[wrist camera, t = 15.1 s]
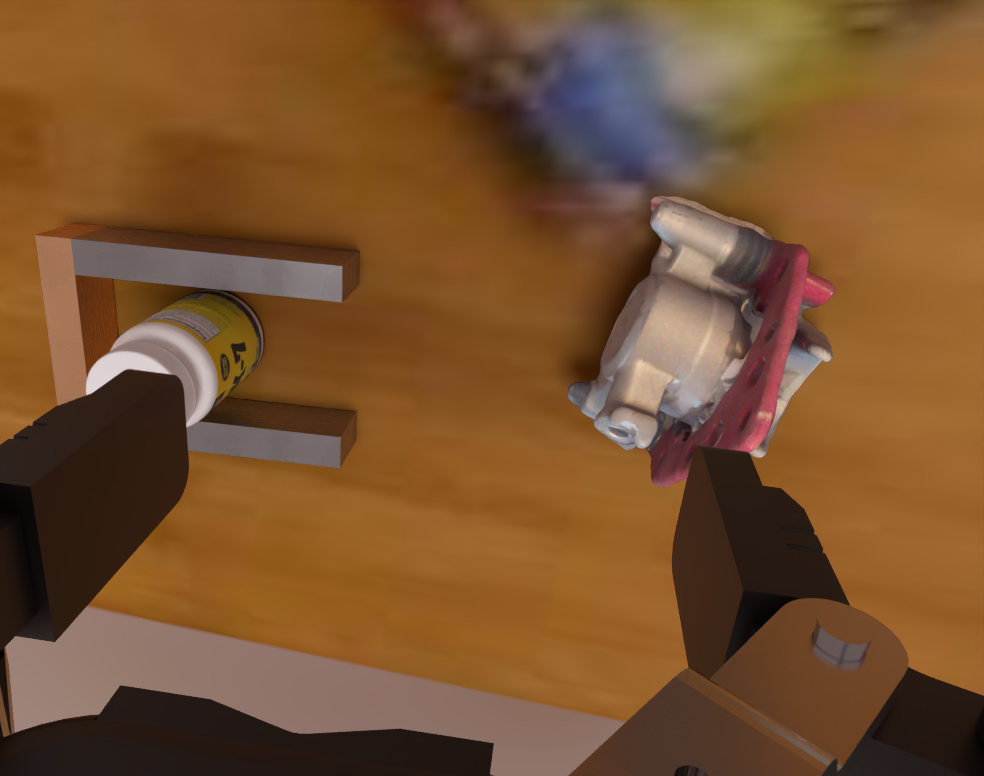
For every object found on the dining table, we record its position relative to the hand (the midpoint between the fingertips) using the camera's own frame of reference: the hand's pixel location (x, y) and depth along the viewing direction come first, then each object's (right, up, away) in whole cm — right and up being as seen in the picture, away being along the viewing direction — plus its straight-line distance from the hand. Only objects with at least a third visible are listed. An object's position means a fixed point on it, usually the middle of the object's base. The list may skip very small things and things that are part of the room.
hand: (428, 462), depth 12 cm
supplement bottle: (-12, +4, +27) cm, 30 cm away
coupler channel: (-11, +4, +27) cm, 29 cm away
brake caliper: (+10, +4, +25) cm, 27 cm away
